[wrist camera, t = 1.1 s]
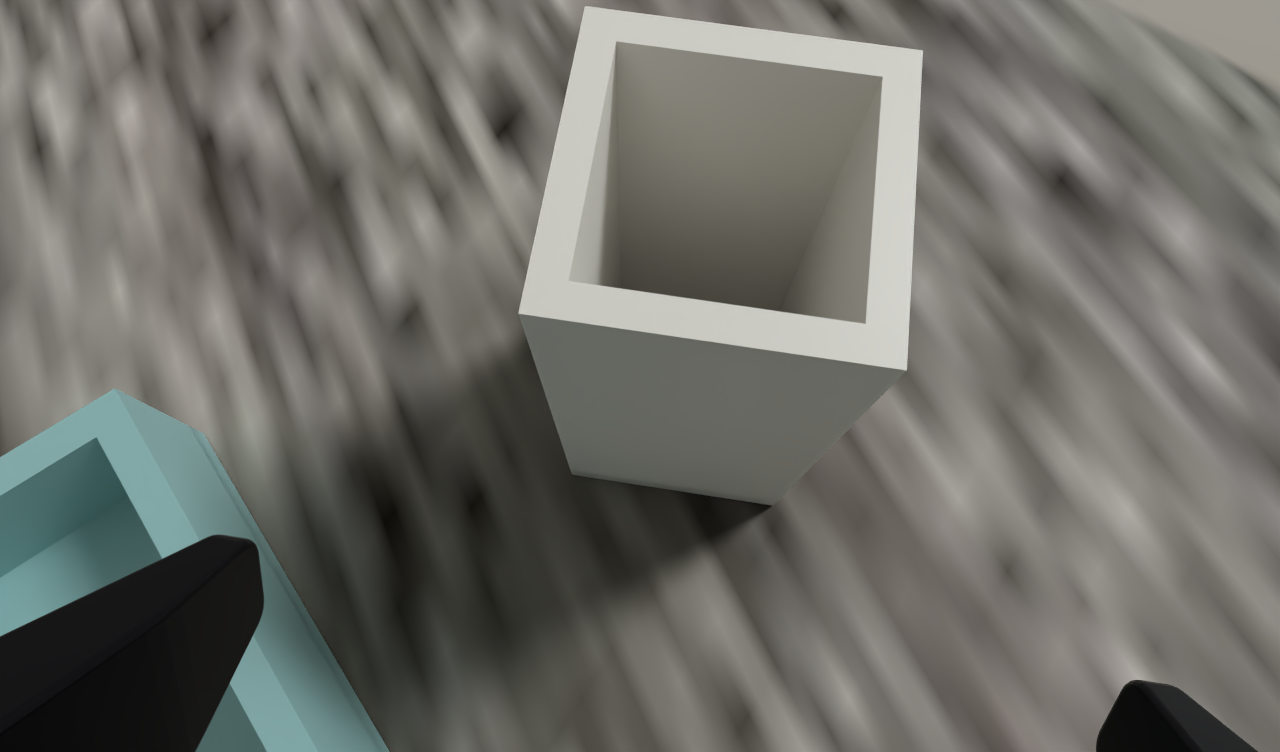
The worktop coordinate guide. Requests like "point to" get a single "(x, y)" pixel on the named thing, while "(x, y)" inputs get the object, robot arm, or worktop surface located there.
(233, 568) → the robot arm
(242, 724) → the crate
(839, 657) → the worktop surface
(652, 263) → the white hollow square box
